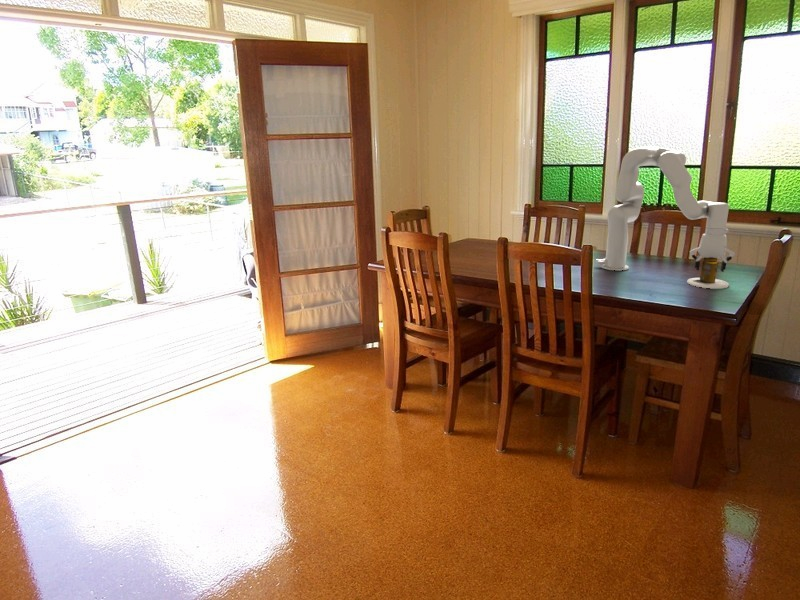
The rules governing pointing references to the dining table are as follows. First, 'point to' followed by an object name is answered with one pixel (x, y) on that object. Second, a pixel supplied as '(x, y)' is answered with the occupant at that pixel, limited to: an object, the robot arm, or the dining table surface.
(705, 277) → the condiment
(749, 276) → the dining table surface
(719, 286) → the plate
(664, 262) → the dining table surface
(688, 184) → the robot arm
